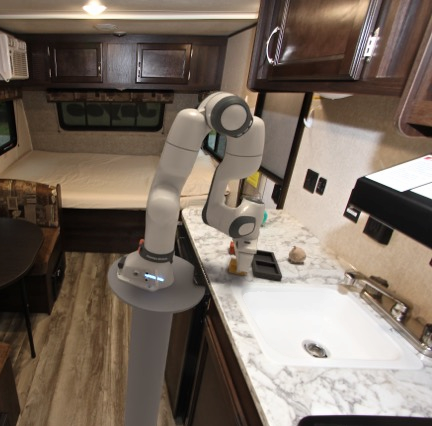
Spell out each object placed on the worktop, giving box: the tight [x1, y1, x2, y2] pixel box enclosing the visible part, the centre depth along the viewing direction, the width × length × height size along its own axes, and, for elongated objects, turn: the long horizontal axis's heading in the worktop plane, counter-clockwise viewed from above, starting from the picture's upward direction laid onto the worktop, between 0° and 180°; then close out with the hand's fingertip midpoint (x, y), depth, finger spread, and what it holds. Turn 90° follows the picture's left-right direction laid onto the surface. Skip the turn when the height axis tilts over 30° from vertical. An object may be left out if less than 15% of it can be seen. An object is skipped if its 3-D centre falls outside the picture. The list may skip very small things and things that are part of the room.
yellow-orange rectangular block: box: [228, 258, 247, 276], centre depth 117 cm, size 6×4×4 cm
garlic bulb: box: [288, 245, 307, 263], centre depth 124 cm, size 7×6×8 cm
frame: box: [251, 249, 283, 282], centre depth 121 cm, size 10×18×3 cm, turn 163°
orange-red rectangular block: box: [228, 240, 235, 256], centre depth 130 cm, size 6×4×4 cm
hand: (237, 267), depth 117 cm, fingers closed on yellow-orange rectangular block, 4 cm apart
